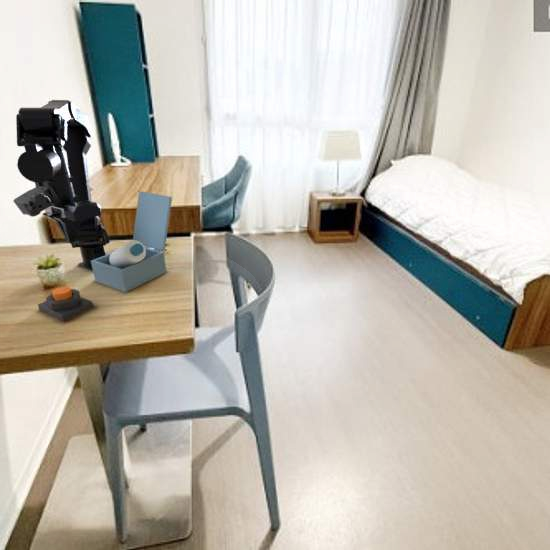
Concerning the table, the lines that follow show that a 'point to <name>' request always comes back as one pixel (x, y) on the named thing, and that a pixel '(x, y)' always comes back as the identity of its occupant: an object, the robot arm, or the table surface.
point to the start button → (62, 293)
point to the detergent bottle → (127, 254)
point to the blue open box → (129, 271)
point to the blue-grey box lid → (152, 220)
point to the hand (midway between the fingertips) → (71, 242)
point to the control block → (65, 306)
